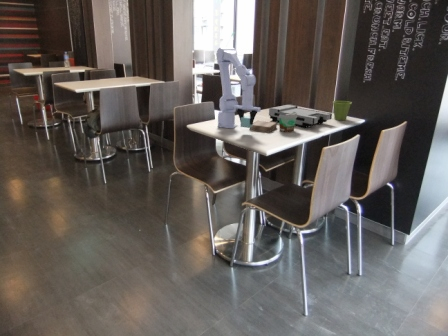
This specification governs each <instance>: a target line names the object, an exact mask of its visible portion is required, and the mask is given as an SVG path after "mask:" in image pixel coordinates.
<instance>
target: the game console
mask: <svg viewBox="0 0 448 336" xmlns="http://www.w3.org/2000/svg"><path fill="white" fill-rule="evenodd" d="M293 112H296V113H297V118H296V122H295V127H298V128H302V129H308V128H311V127H312V126H315V125H317V126H319V125H321V124H324V123H326V122H328V121H329V120H332V117H333V113H330V112H325V111H319V110H315V109H314V110H312V109H307V108H306V109H305V108H301V107H298V105H294V104H285V105H284V104H283V105H281V106H279V105H278V106H275V107H270V108H269V109H268V116H269V119H270V120H271V122H274V123H277V124H278V123H279V114H283V115H285V114H292V113H293Z"/></svg>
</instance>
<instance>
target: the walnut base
mask: <svg viewBox="0 0 448 336" xmlns="http://www.w3.org/2000/svg"><path fill="white" fill-rule="evenodd" d="M277 125H278V122H274V121H266V120H265V121H264V120H256V121H253V126H252V127H250V128H249V130H250V131H255V132H256V131H257V132H263V133H271V132H272V131H274V130H275V129H277Z"/></svg>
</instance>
